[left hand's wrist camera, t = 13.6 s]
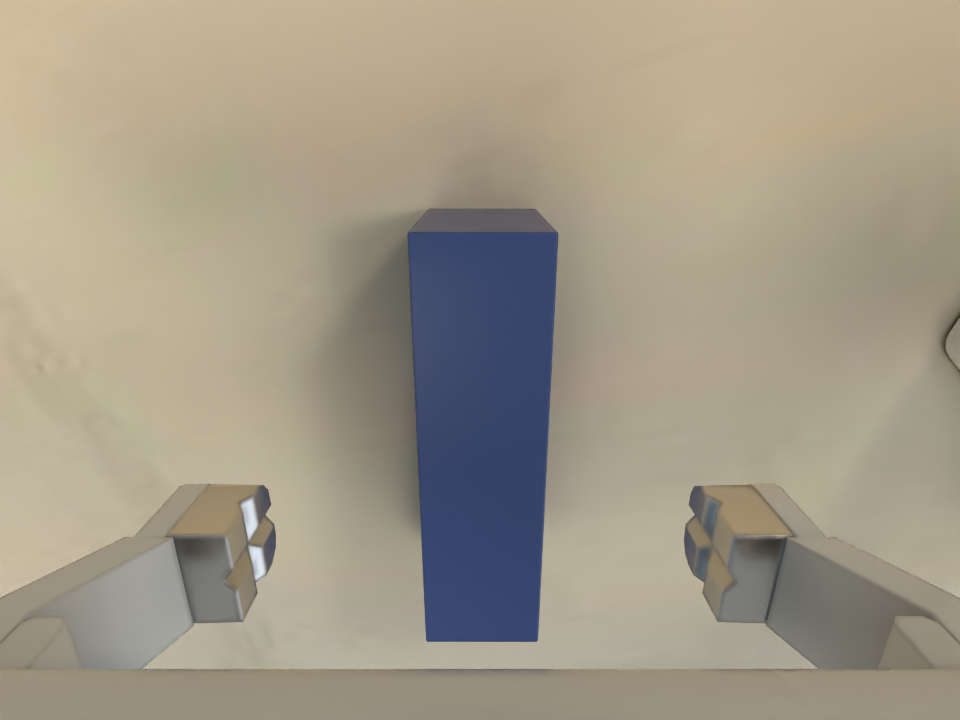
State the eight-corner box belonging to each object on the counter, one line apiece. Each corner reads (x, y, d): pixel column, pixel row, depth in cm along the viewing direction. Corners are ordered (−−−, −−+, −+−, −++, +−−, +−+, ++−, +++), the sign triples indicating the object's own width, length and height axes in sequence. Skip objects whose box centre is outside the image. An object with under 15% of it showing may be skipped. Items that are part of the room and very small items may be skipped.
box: (428, 208, 30) (407, 232, 22) (536, 208, 30) (558, 232, 22) (438, 529, 38) (426, 642, 29) (524, 529, 38) (538, 642, 29)
